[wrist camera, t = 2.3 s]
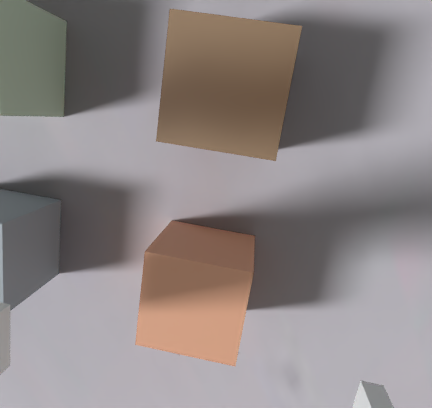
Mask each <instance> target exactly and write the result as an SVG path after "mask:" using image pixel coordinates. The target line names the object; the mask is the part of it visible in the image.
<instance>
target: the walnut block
mask: <svg viewBox="0 0 432 408" xmlns="http://www.w3.org/2000/svg"><path fill="white" fill-rule="evenodd" d="M301 30H302V26H298V25H290V24H283V23H275V22H268V21H260V20H252V19H245V18H237V17H229V16H222V15H214V14H207V13H199V12H191V11H184V10H176V9H170V11H169V21H168V31H167V41H166V50H165V60H164V70H163V80H162V89H161V99H160V109H159V118H158V128H157V138H156V141H158V142H164V143H170V144H176V145H182V146H188V147H194V148H200V149H206V150H212V151H219V152H225V153H231V154H237V155H243V156H249V157H255V158H261V159H267V160H273V161H276V157H277V152H278V146H279V141H280V136H281V131H282V126H283V121H284V116H285V111H286V106H287V101H288V96H289V91H290V85H291V80H292V75H293V70H294V65H295V60H296V55H297V50H298V45H299V40H300V35H301Z"/></svg>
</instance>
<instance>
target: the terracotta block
mask: <svg viewBox="0 0 432 408" xmlns="http://www.w3.org/2000/svg"><path fill="white" fill-rule="evenodd" d="M254 250H255V236H253V235H248V234H243V233H237V232H232V231H226V230H221V229H216V228H210V227H205V226H199V225H194V224H189V223H183V222H178V221H171V222H170V223H169V224H168V226H167V227H166V228H165V229H164V230H163V231H162V232H161V234H160V235H159V236H158V237H157V238H156V239H155V240H154V242H153V243H152V244H151V245H150V246H149V247H148V249H147V250H146V251H145V255H144V265H143V275H142V284H141V294H140V304H139V314H138V323H137V333H136V343H135V345H139V346H144V347H149V348H153V349H158V350H162V351H167V352H172V353H176V354H181V355H185V356H190V357H195V358H199V359H204V360H208V361H213V362H217V363H222V364H227V365H231V366H235V365H236V360H237V355H238V350H239V345H240V340H241V335H242V329H243V324H244V319H245V314H246V309H247V304H248V299H249V294H250V289H251V284H252V279H253V274H254Z"/></svg>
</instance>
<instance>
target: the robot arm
mask: <svg viewBox="0 0 432 408" xmlns="http://www.w3.org/2000/svg"><path fill="white" fill-rule="evenodd" d="M9 366H10V304H6V303H1V302H0V375H1V374H2V373H3V372H4V371H5V370H6V369H7V368H8V367H9ZM352 408H394V407H393V405H392V403H391V401H390V399H389V396H388V394H387V392H386V390H385V388H384V386H383V385H379V384H374V383H370V382H365V381H360V385H359V388H358V391H357V394H356V398H355V401H354V404H353V407H352Z"/></svg>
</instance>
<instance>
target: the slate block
mask: <svg viewBox="0 0 432 408" xmlns="http://www.w3.org/2000/svg"><path fill="white" fill-rule="evenodd" d="M60 223H61V200H59V199H53V198H48V197H42V196H37V195H31V194H26V193H21V192H15V191H10V190H4V189H0V302H1V303H6V304H10V311H11V310H12V309H13V308H15V307H16V306H17V305H18V304H20V303H21V302H22V301H24V300H25V299H26V298H28V297H29V296H30V295H31V294H33V293H34V292H35V291H37V290H38V289H39V288H41V287H42V286H43V285H45V284H46V283H47V282H48V281H50V280H51V279H52V278H54V277H55V276H56V275H58V274H59V256H60Z"/></svg>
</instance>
